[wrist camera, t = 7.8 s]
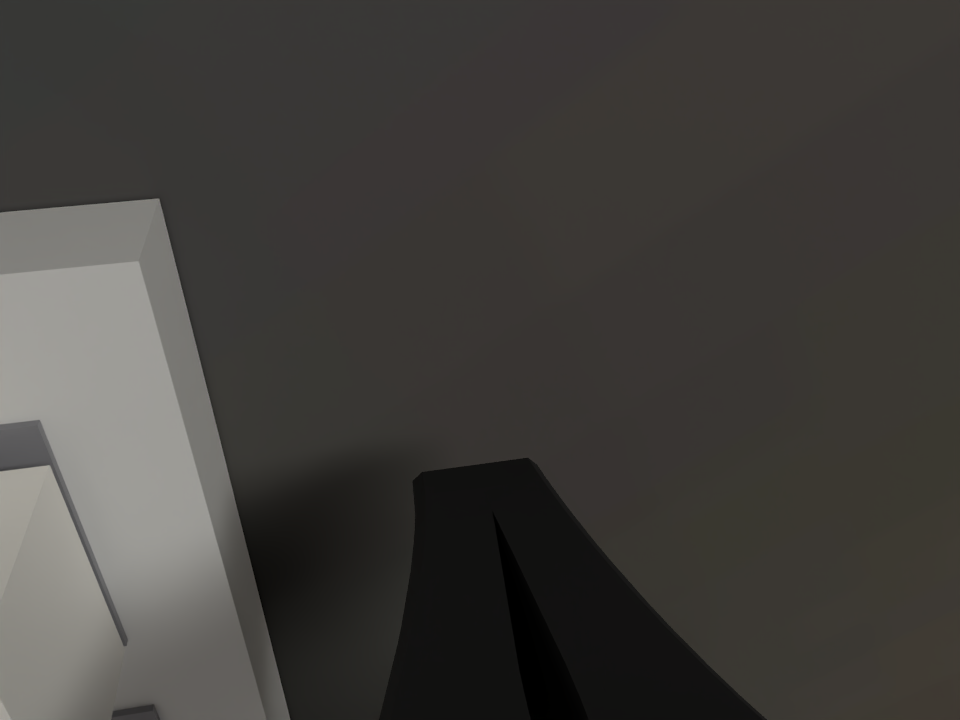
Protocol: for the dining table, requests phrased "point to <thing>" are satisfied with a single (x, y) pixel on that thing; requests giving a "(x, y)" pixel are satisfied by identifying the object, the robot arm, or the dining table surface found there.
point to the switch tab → (50, 610)
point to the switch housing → (133, 454)
